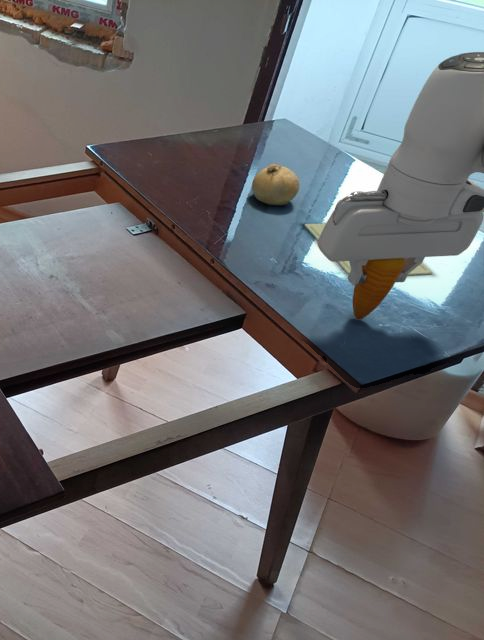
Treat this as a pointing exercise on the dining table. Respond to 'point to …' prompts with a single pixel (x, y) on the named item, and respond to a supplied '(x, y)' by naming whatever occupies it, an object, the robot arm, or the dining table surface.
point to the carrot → (375, 284)
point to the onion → (275, 185)
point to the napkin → (316, 232)
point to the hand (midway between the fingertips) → (375, 281)
